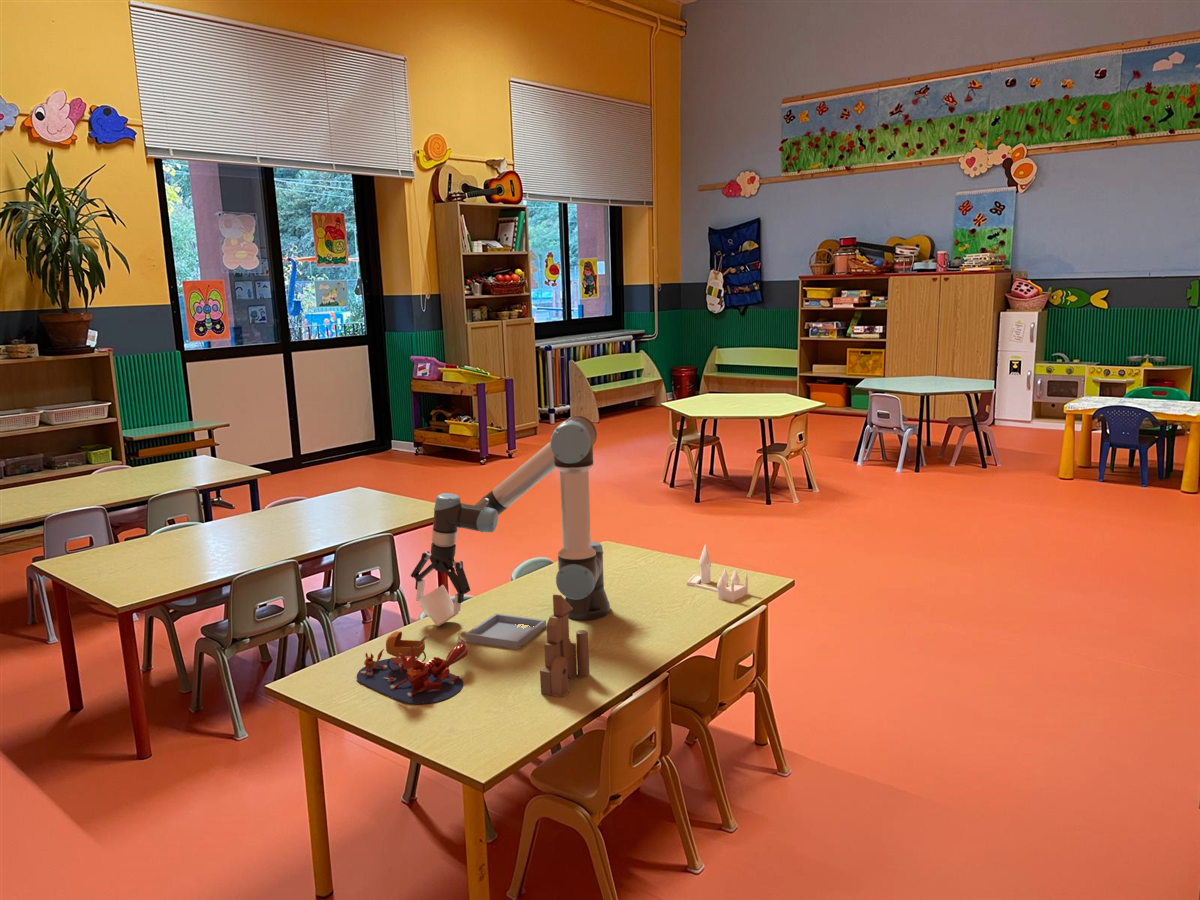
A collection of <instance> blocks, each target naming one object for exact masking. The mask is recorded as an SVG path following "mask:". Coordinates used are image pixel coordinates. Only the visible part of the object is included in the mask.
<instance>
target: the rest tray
mask: <svg viewBox="0 0 1200 900" xmlns="http://www.w3.org/2000/svg"><path fill="white" fill-rule="evenodd" d="M515 624H516V625H515ZM518 624H524V625H529V626H530V627H529V626H528V627H526V628H524V629H523V628H521V626H522V625H521V626H520V627H518V628H517V625H518ZM533 626H534V627H533ZM545 628H547V620H545V619H537V618H532V617H525V616H524V617H523V616H517V615H510V614H504V613H503V614H502V613H494V614H493V615H491V616H490V617H488V618H486V619H485V620H484V621H482V622H481V623H479V624H478V625H476V626H474V627H473V628H472V629H470V630H468V631H466V633H465V635H464V636H465V642H466V643H473V644H478V645H479V644H480V645H484V646H491V647H492V646H494V647H499V648H505V647H506V649H511V650H519V649H520V648H521V646H522V645H523V646H524V645H525V644H526V643H528V642H529V641H531V640H532V639H533V638H534V637H535V636H536V635H537V634H539V633H540V632H541V631H543V629H545ZM523 646H522V647H523Z"/></svg>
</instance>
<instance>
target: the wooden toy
mask: <svg viewBox="0 0 1200 900" xmlns="http://www.w3.org/2000/svg"><path fill="white" fill-rule="evenodd" d="M552 605H553V608H552V609H553V610H552V611H553V612H552V613H553V614H552V615H550V616H549V618H548V621H547V622H546V641H547V642H545V643H544V645H543V647H544V651H543V652H544V667H543V668H541V670H540V671H539V675H540V676H539V678H540V679H539V680H540V693H541V694H543V695H546V696H547V695H548V696H554V697H558V698H563V697H565V696H566V695H567V694H568V693H569V681H570V680H572V679H574V678H575V677H576V676H577V677H578V678H579V679H585V678H588V677H589V676H590V655H589V654H590V653H589V652H590V650H589V648H590V647H589V632H588V631H587V630H586V629H585V630H584V629H581V630H580V629H579V630H577V631H576V632H575V634H576V635H575V636H576V637H575V638H576V639H575V640H576V643H575V642H572V641H571V639H570V626H569V625H570V623H569V622H570V621H569V620H570V619H569V617H568V612H570V611H571V610H573V608H572V607H571V606H570V605H569V604H568V602H567V601H566V600H565V597H563V595H562V594H555V593H554V594H552Z"/></svg>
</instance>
